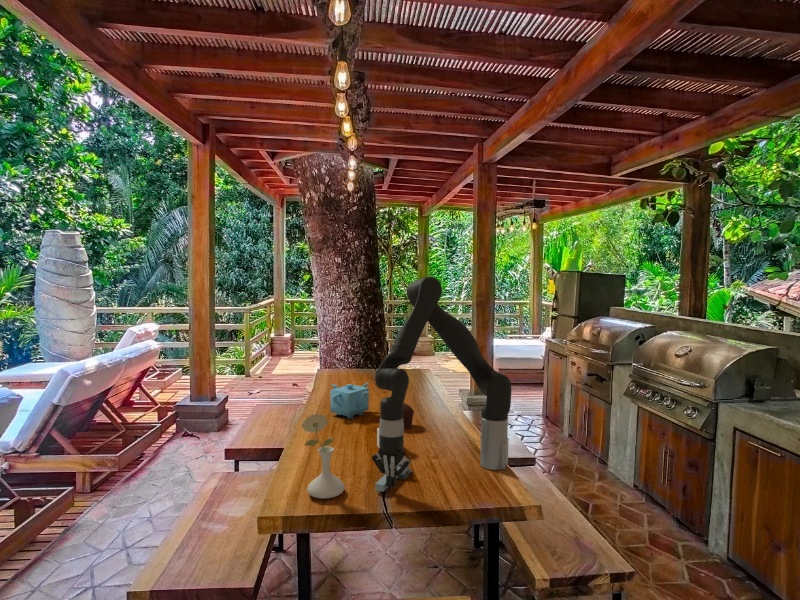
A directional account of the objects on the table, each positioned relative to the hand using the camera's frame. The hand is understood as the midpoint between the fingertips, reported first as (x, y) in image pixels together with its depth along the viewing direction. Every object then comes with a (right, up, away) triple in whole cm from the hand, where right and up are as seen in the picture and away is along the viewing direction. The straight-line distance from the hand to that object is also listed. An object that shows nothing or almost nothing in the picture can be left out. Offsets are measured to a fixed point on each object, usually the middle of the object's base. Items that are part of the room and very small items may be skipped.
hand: (391, 487), depth 143 cm
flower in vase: (-21, -2, -1) cm, 21 cm away
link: (0, 0, +7) cm, 7 cm away
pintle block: (+2, -1, +13) cm, 14 cm away
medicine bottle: (-2, 0, +37) cm, 37 cm away
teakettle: (-21, +3, +80) cm, 83 cm away
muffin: (+3, +1, +63) cm, 63 cm away
